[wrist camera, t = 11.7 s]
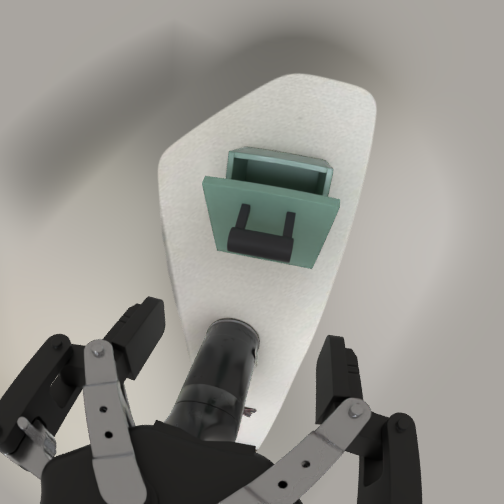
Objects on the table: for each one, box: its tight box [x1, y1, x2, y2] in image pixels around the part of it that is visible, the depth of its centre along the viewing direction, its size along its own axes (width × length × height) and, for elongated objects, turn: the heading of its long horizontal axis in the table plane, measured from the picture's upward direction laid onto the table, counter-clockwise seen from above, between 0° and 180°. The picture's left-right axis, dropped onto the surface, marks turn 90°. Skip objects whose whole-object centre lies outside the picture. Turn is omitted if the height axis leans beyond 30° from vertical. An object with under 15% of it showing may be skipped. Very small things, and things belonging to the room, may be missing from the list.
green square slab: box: [202, 176, 340, 269], centre depth 23 cm, size 11×10×5 cm
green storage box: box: [226, 147, 333, 197], centre depth 31 cm, size 10×10×9 cm
